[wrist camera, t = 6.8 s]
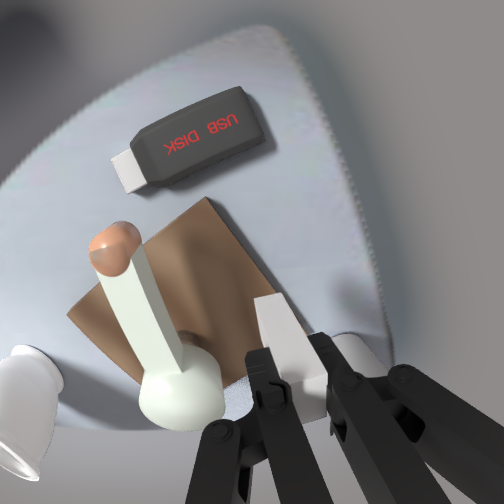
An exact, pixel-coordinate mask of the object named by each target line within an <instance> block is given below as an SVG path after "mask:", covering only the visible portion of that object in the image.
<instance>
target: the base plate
mask: <svg viewBox="0 0 504 504" xmlns="http://www.w3.org/2000/svg"><path fill="white" fill-rule="evenodd" d="M143 248H144V251H145V254H146V257H147V260H148V262H149V265H150V268H151V271H152V273H153V276H154V279H155V281H156V284H157V287H158V289H159V292H160V294H161V297H162V299H163V302H164V304H165V307H166V309H167V311H168V314H169V316H170V318H171V321H172V323H173V325H174V328H175V330H176V332H177V331H180V330H186V331H190V332H192V333H194V334H195V335H196V336H197V337H198V339H199V342H200V348H201V349H204V350H205V351H207V352H208V353H210V354H211V355H212V356H213V357H214V358H215V359H216V361H217V362H218V364H219V366H220V370H221V378H222V385H223V388H225V387H227V386H229V385H230V384H232V383H234V382H236V381H237V380H239V379H241V378H243V377H244V376H246V375H248V373H247V369H246V365H245V360H244V359H245V357H246V354H247V352H248V351H252V350H257V349H261V348H264V346H263V343H262V340H261V335H260V330H259V325H258V319H257V314H256V308H255V303H254V298H258V297H263V296H267V295H272V294H276V293H277V292H276V291H275V289H274V288H273V287H272V285H271V284H270V283H269V281H268V280H267V279H266V277H265V276H264V275H263V273H262V272H261V271H260V269H259V268H258V267H257V265H256V264H255V262H254V261H253V260H252V258H251V257H250V256H249V254H248V253H247V252H246V250H245V249H244V248H243V246H242V245H241V244H240V242H239V241H238V240H237V238H236V237H235V236H234V234H233V233H232V232H231V230H230V229H229V227H228V226H227V225H226V223H225V222H224V221H223V219H222V218H221V217H220V215H219V214H218V213H217V211H216V210H215V209H214V207H213V206H212V205H211V203H210V202H209V201H208V199H207V198H206V196H205V197H204V198H203V199H201V200H200V201H199V202H197V203H196V204H195V205H193V206H192V207H191V208H189V209H188V210H187V211H185V212H184V213H183V214H181V215H180V216H179V217H177V218H176V219H175V220H174V221H172V222H171V223H170V224H168V225H167V226H166V227H165V228H163V229H162V230H161V231H160V232H158V233H157V234H156V235H155V236H153V237H152V238H151V239H150V240H148V241H147V242H146V243H145V244H144V245H143ZM67 316H68V317H69V318H70V319H71V321H72V322H73V323H74V324H75V325H76V326H77V327H78V328H79V329H80V330H81V331H82V332H83V333H84V334H85V335H86V336H87V337H88V338H89V339H90V340H91V341H92V342H93V343H94V344H95V345H96V346H97V347H98V348H99V349H100V350H101V351H102V352H103V353H104V354H105V355H106V356H108V357H109V358H110V359H111V360H112V361H113V362H114V363H115V364H116V365H118V366H119V367H120V368H121V369H122V370H123V371H124V372H126V373H127V374H128V375H129V376H130V377H132V378H133V379H134V380H135V381H136V382H138V383H139V384H140V385H142V380H143V375H144V368H143V366H142V365H141V363H140V361H139V359H138V358H137V356H136V354H135V352H134V350H133V349H132V347H131V345H130V343H129V341H128V339H127V337H126V335H125V333H124V332H123V330H122V328H121V326H120V324H119V322H118V320H117V317H116V315H115V313H114V311H113V309H112V307H111V305H110V303H109V300H108V298H107V296H106V294H105V292H104V289H103V287H102V285H101V282H99V283H98V284H97V285H96V286H95V287H94V288H93V289H91V290H90V291H89V292H88V293H87V294H86V295H85V296H84V297H83V298H82V299H81V300H80V301H78V302H77V303H76V304H75V305H74V306H73V307H72V308H71V309H70V311H69V312H68V313H67ZM297 321H298V320H297ZM298 323H299V321H298ZM299 324H300V323H299ZM300 326H301V328H302V329H303V331H304V333H305V335H306V336H308V335H307V333H306V331H305V330H304V328H303V327H302V325H301V324H300Z"/></svg>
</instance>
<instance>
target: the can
mask: <svg viewBox="0 0 504 504" xmlns="http://www.w3.org/2000/svg"><path fill="white" fill-rule="evenodd" d="M331 339H332V340H333V342H334V343H335V345H336V346H337V347H338V349H339V351H340V352H341V353H342V355H343V356H344V357H345V359H346V360H347V362H348V363H349V365H350V366H351V368H352V369H353V370H354V371H356V372H359V373H361V374H363V375H364V376H365V377H369V378H370V377H381V376H387V375H388V370H387V369H386V368H385V366H384V365H383V364H382V363H381V362H380V360H379V359H378V358H377V357H376V356H375V355H374V353H373V352H372V351H371V350H370V349H369V348H368V346H367V345H366V344H365V343H364V342H363V341H362V340H361V339H360V338H359V337H358V336H356V335H353V334H341V335H338V336H335V337H332V338H331Z"/></svg>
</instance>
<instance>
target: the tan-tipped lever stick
mask: <svg viewBox="0 0 504 504" xmlns="http://www.w3.org/2000/svg"><path fill="white" fill-rule="evenodd" d="M89 258H90V261H91V264H92V265H93V267H94V268H95V270H96V273H97V275H98V277H99V280H100V282H101V285H102V287H103V289H104V292H105V294H106V296H107V298H108V300H109V303H110V305H111V307H112V309H113V311H114V313H115V315H116V317H117V320H118V322H119V324H120V326H121V328H122V330H123V332H124V333H125V335H126V337H127V339H128V341H129V343H130V345H131V347H132V349H133V350H134V352H135V354H136V356H137V358H138V359H139V361H140V363H141V365H142V366H143V368H144V375H143V380H142V385H141V391H140V396H139V406H140V408H141V411H142V412H143V414H144V415H145V416H146V417H147V418H148V419H149V420H150V421H152V422H153V423H155V424H157V425H159V426H161V427H163V428H166V429H169V430H174V431H181V432H193V431H199V430H203V429H204V428H205V427H206V426H207V425H208V424H209V423H211V422H213V421H215V420H219V419H221V418H222V417H223V415H224V413H225V407H226V406H225V400H224V392H223V385H222V378H221V370H220V366H219V364H218V362H217V361H216V359H215V358H214V357H213V356H212V355H211V354H210V353H208V352H207V351H205V350H204V349H201V348H199V347H196V346H193V345H189V344H182V343H181V341H180V339H179V337H178V335H177V332H176V330H175V328H174V325H173V323H172V321H171V318H170V316H169V314H168V311H167V309H166V307H165V304H164V302H163V299H162V297H161V294H160V292H159V289H158V287H157V284H156V281H155V279H154V276H153V273H152V271H151V268H150V265H149V262H148V260H147V257H146V254H145V251H144V248H143V245H142V240H141V235H140V232H139V231H138V229H137V228H136V227H135V226H134V225H133V224H131V223H129V222H126V221H118V222H115V223H113V224H112V225H110V226H109V227H108V228H106V229H105V230H103V231H102V232H101V233H99V234H98V235H97V236H96V237H94V239H93V240H92V241H91V243H90V246H89Z"/></svg>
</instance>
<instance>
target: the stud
mask: <svg viewBox="0 0 504 504" xmlns="http://www.w3.org/2000/svg"><path fill="white" fill-rule="evenodd" d="M177 335H178V337H179V339H180V341H181V343H182V344H189V345H193V346H196V347H199V348H200V342H199V339H198V337H197V336H196V335H195V334H194V333H192V332H190V331H186V330H180V331H177Z"/></svg>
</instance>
